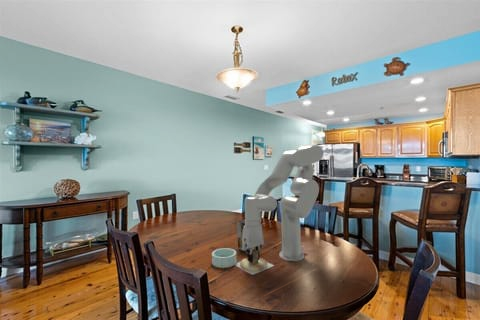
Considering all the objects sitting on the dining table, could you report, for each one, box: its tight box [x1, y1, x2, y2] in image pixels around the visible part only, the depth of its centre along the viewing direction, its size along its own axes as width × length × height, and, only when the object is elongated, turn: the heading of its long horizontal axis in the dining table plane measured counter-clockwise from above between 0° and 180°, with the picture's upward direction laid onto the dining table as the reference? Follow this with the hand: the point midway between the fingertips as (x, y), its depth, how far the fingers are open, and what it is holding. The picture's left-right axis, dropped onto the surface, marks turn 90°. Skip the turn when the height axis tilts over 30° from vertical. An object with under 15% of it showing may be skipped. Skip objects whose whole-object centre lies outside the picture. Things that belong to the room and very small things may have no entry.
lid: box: [239, 249, 268, 271], centre depth 115 cm, size 13×13×7 cm
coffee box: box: [236, 219, 255, 251], centre depth 136 cm, size 9×6×16 cm
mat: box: [234, 261, 275, 276], centre depth 115 cm, size 14×14×1 cm
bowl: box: [211, 247, 238, 269], centre depth 119 cm, size 12×12×5 cm
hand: (253, 260), depth 115 cm, fingers open, 3 cm apart
